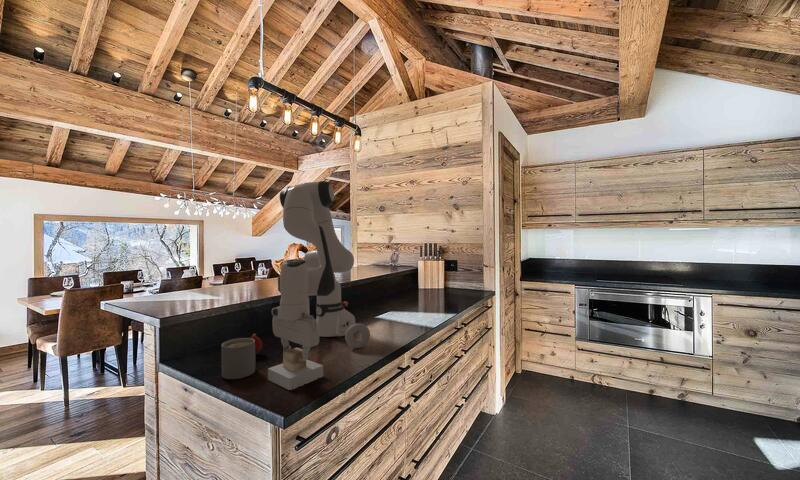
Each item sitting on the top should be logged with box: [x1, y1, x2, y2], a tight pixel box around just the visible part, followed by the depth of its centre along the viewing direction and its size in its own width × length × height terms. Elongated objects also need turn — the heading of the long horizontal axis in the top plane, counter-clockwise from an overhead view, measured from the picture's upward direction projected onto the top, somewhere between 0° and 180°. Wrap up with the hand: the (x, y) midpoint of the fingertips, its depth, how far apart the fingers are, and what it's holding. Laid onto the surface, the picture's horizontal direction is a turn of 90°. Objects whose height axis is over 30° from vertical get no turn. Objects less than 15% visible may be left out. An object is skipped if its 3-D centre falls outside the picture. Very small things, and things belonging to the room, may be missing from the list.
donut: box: [344, 322, 371, 349], centre depth 129 cm, size 10×4×10 cm, turn 102°
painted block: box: [267, 358, 324, 391], centre depth 102 cm, size 12×12×4 cm
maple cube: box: [282, 347, 306, 372], centre depth 102 cm, size 5×5×5 cm
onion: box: [250, 333, 263, 356], centre depth 123 cm, size 6×6×8 cm
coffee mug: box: [220, 337, 256, 380], centre depth 109 cm, size 13×10×10 cm
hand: (295, 354), depth 102 cm, fingers open, 8 cm apart
